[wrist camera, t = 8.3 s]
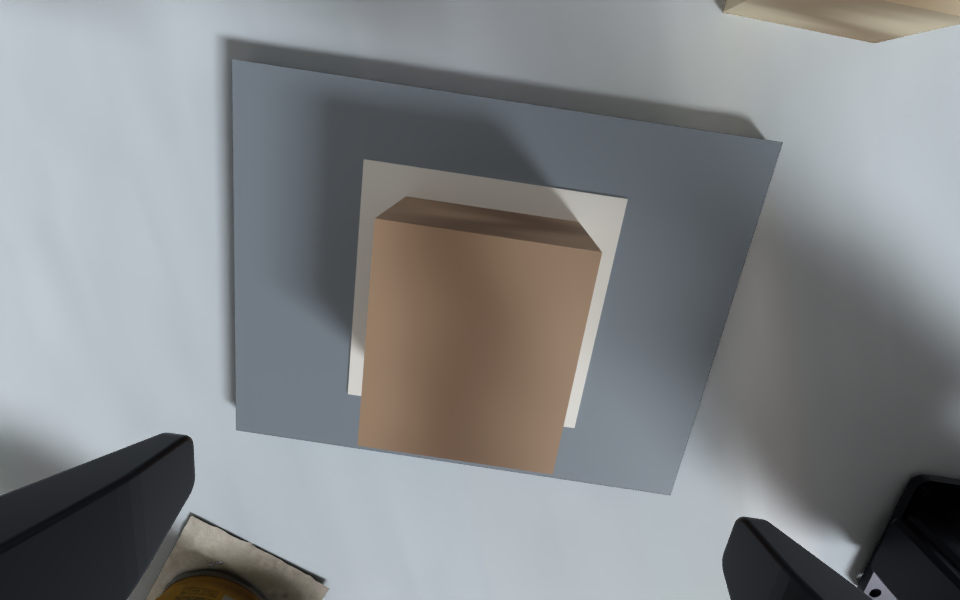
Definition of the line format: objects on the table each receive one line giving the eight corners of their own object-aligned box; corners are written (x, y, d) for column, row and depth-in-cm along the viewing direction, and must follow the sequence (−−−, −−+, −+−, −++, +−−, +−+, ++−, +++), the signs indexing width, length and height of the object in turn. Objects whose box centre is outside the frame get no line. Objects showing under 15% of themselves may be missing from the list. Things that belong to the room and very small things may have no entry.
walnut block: (578, 222, 18) (602, 252, 14) (542, 400, 20) (552, 474, 16) (405, 196, 18) (374, 218, 14) (389, 377, 20) (357, 445, 16)
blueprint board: (768, 141, 18) (784, 142, 17) (663, 479, 22) (671, 497, 21) (246, 62, 18) (230, 58, 17) (247, 417, 22) (234, 431, 21)
